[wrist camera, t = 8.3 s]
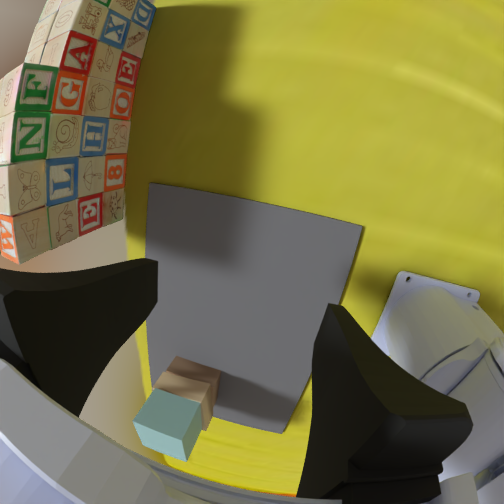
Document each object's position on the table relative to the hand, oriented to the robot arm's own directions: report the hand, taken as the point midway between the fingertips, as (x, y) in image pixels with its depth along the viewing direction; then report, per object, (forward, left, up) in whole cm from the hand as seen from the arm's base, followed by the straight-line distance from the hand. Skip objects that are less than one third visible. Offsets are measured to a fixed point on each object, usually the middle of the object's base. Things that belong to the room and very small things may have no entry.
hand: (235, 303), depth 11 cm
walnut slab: (+5, +17, -10) cm, 20 cm away
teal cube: (+5, +17, -5) cm, 18 cm away
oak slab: (+5, +17, -8) cm, 19 cm away
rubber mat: (+2, +11, -10) cm, 15 cm away
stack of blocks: (+17, -9, -11) cm, 22 cm away
